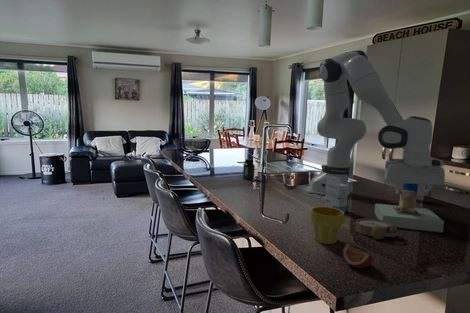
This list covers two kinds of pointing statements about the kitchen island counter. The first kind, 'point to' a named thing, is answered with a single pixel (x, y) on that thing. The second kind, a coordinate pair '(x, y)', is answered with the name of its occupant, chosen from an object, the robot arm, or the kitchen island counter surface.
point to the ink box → (336, 194)
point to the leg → (407, 202)
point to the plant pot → (326, 223)
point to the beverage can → (410, 187)
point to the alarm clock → (376, 228)
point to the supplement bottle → (248, 170)
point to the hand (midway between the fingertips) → (411, 194)
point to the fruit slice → (356, 256)
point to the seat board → (409, 218)
